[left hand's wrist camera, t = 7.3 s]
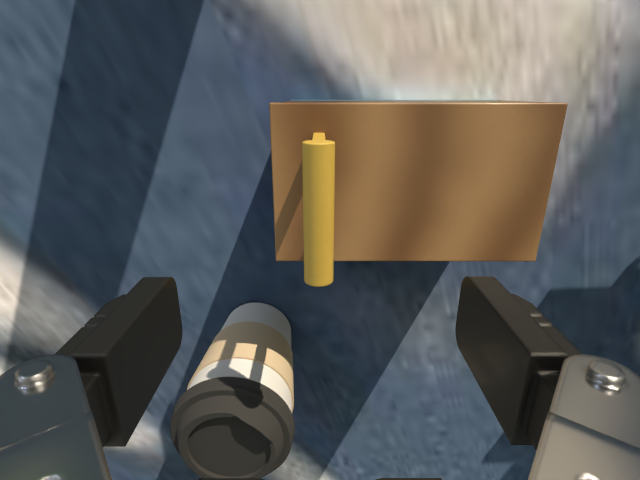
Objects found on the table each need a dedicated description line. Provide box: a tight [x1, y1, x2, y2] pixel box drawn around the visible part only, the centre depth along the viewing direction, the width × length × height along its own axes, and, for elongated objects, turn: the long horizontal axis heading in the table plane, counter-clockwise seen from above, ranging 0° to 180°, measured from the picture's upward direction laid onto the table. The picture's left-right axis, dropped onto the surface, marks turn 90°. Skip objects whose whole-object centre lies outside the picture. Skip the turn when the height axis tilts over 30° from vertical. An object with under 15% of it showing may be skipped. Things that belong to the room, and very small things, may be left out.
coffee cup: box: [170, 303, 295, 478], centre depth 34 cm, size 9×9×15 cm
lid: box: [269, 103, 567, 287], centre depth 23 cm, size 18×10×8 cm, turn 90°
